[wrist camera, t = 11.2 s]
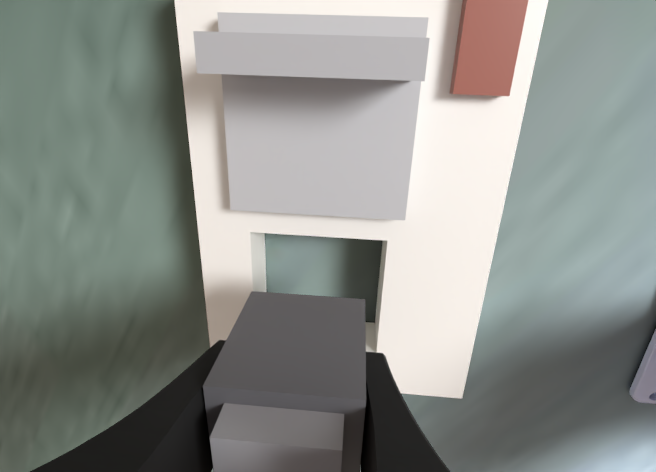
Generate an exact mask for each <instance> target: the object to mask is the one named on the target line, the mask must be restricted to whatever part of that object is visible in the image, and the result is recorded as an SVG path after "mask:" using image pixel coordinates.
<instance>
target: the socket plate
mask: <svg viewBox="0 0 656 472" xmlns="http://www.w3.org/2000/svg"><path fill="white" fill-rule="evenodd" d="M174 1H175V11H176V21H177V31H178V40H179V50H180V60H181V69H182V79H183V89H184V98H185V108H186V118H187V127H188V137H189V147H190V157H191V166H192V176H193V186H194V195H195V205H196V215H197V224H198V234H199V244H200V254H201V263H202V273H203V283H204V292H205V302H206V312H207V321H208V331H209V341H210V348H211V347H212V346H213V345H214V344H215V343H216V342H217V341H219V340H227V338H228V336H229V334H230V332H231V330H232V328H233V326H234V324H235V322H236V320H237V318H238V316H239V315H240V313H241V311H242V309H243V307H244V305H245V303H246V301H247V299H248V297H249V295H250V293H251V291H255V292H267V289H266V259H265V233H272V234H288V235H304V236H320V237H336V238H352V239H368V240H383V241H382V252H381V262H380V273H379V284H378V294H377V305H376V316H375V323H371V322H365V328H366V352H376V353H383V354H384V355H385V356H386V359H387V362H388V365H389V368H390V371H391V373H392V375H393V378H394V380H395V382H396V384H397V387H398V389H399V391H400V393H404V394H415V395H427V396H438V397H449V398H461V399H462V397H463V392H464V388H465V383H466V378H467V374H468V369H469V365H470V360H471V355H472V351H473V346H474V341H475V337H476V332H477V327H478V323H479V318H480V314H481V309H482V304H483V300H484V295H485V290H486V286H487V281H488V277H489V272H490V267H491V263H492V258H493V253H494V249H495V244H496V240H497V235H498V230H499V226H500V221H501V216H502V212H503V207H504V203H505V198H506V193H507V189H508V184H509V179H510V175H511V170H512V166H513V161H514V156H515V152H516V147H517V142H518V138H519V133H520V128H521V124H522V119H523V115H524V110H525V105H526V101H527V96H528V91H529V87H530V82H531V78H532V73H533V68H534V64H535V59H536V54H537V50H538V45H539V41H540V36H541V31H542V27H543V22H544V17H545V13H546V8H547V4H548V0H174ZM217 12H227V13H268V14H308V15H349V16H389V17H429V18H428V27H427V35H426V38H430V39H429V48H428V56H427V65H426V73H425V81H421V87H420V96H419V105H418V113H417V122H416V131H415V139H414V148H413V157H412V165H411V174H410V182H409V191H408V200H407V208H406V217H405V220H389V219H372V218H355V217H338V216H321V215H304V214H287V213H270V212H253V211H236V210H231V208H230V193H229V178H228V163H227V148H226V134H225V119H224V104H223V89H222V74H202V73H197V68H196V57H195V45H194V34H193V31H207V32H219V29H218V14H217Z"/></svg>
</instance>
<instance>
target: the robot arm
mask: <svg viewBox="0 0 656 472" xmlns="http://www.w3.org/2000/svg"><path fill="white" fill-rule="evenodd" d="M225 342H226V340H219V341H217V342H216V343H215V344H214V345H213V346H212V347H211V348H209V349H208V350H207V351H206V352H205V353H204V354H203V355H202V356H201V357H200V358H198V359H197V360H196V361H195V362H194V363H193V364H192V365H191V366H190V367H188V368H187V369H186V370H185V371H184V372H183V373H181V374H180V375H179V376H178V377H177V378H176V379H175V380H173V381H172V382H171V383H170V384H169V385H167V386H166V387H165V388H164V389H162V390H161V391H160V392H159V393H157V394H156V395H155V396H154V397H152V398H151V399H150V400H149V401H147V402H146V403H145V404H143V405H142V406H141V407H139V408H138V409H136V410H135V411H134V412H132V413H131V414H129V415H128V416H126V417H125V418H123V419H122V420H120V421H119V422H117V423H116V424H114V425H113V426H111V427H110V428H108V429H107V430H105V431H103V432H102V433H100V434H98V435H97V436H95V437H93V438H91V439H90V440H88V441H86V442H85V443H83V444H81V445H80V446H78V447H76V448H75V449H73V450H71V451H69V452H67V453H65V454H64V455H62V456H60V457H58V458H56V459H54V460H52V461H50V462H48V463H46V464H44V465H42V466H40V467H38V468H36V469H34V470H32V471H30V472H211V470H212V468H213V464H212V456H211V448H210V440H209V432H208V424H207V415H206V407H205V399H204V391H203V385H204V383H205V381H206V379H207V377H208V375H209V373H210V371H211V369H212V367H213V365H214V363H215V361H216V359H217V357H218V355H219V353H220V352H221V350H222V348H223V346H224V344H225ZM629 393H630V395H631V396H632V398H633V399H634V400H635V401H637V402H641V403H652V404H656V329H655V332H654V334H653V336H652V339H651V341H650V343H649V346H648V348H647V350H646V353H645V355H644V357H643V360H642V362H641V364H640V367H639V369H638V371H637V374H636V376H635V378H634V381H633V383H632V385H631V388H630V391H629ZM652 393H653V394H652ZM360 464H361V472H450V471H449V469H448V468H447V467H446V465H445V464H444V463H443V461H442V460H441V459H440V457H439V456H438V455H437V453H436V452H435V450H434V449H433V447H432V446H431V444H430V443H429V441H428V440H427V438H426V437H425V435H424V434H423V432H422V431H421V429H420V427H419V426H418V424H417V422H416V421H415V419H414V417H413V415H412V414H411V412H410V410H409V408H408V406H407V404H406V402H405V401H404V399H403V397H402V395H401V393H400V391H399V389H398V387H397V384H396V382H395V380H394V378H393V375H392V373H391V371H390V368H389V365H388V362H387V359H386V356H385V355H384V354H383V353H376V352H366V408H365V419H364V430H363V441H362V452H361V463H360Z"/></svg>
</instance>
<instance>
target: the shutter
mask: <svg viewBox="0 0 656 472" xmlns="http://www.w3.org/2000/svg"><path fill="white" fill-rule="evenodd" d="M217 14H218V29H219V32H207V31H193V34H194V45H195V57H196V68H197V73H202V74H222V89H223V104H224V119H225V134H226V148H227V163H228V178H229V193H230V208H231V210H236V211H253V212H270V213H287V214H304V215H321V216H338V217H355V218H372V219H389V220H405V217H406V208H407V200H408V191H409V182H410V174H411V165H412V157H413V148H414V139H415V131H416V122H417V113H418V105H419V96H420V87H421V81H425V73H426V65H427V56H428V48H429V39H430V38H426V35H427V27H428V18H429V17H389V16H349V15H308V14H268V13H227V12H217Z"/></svg>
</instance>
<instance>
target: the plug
mask: <svg viewBox="0 0 656 472" xmlns="http://www.w3.org/2000/svg"><path fill="white" fill-rule="evenodd" d="M203 391H204V399H205V407H206V415H207V424H208V432H209V440H210V448H211V456H212V464H213V472H360V463H361V452H362V441H363V430H364V419H365V408H366V328H365V299H354V298H340V297H326V296H312V295H298V294H284V293H269V292H255V291H251V293H250V295H249V297H248V299H247V301H246V303H245V305H244V307H243V309H242V311H241V313H240V315H239V316H238V318H237V320H236V322H235V324H234V326H233V328H232V330H231V332H230V334H229V336H228V338H227V340H226V342H225V344H224V346H223V348H222V350H221V352H220V353H219V355H218V357H217V359H216V361H215V363H214V365H213V367H212V369H211V371H210V373H209V375H208V377H207V379H206V381H205V383H204V385H203Z"/></svg>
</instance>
